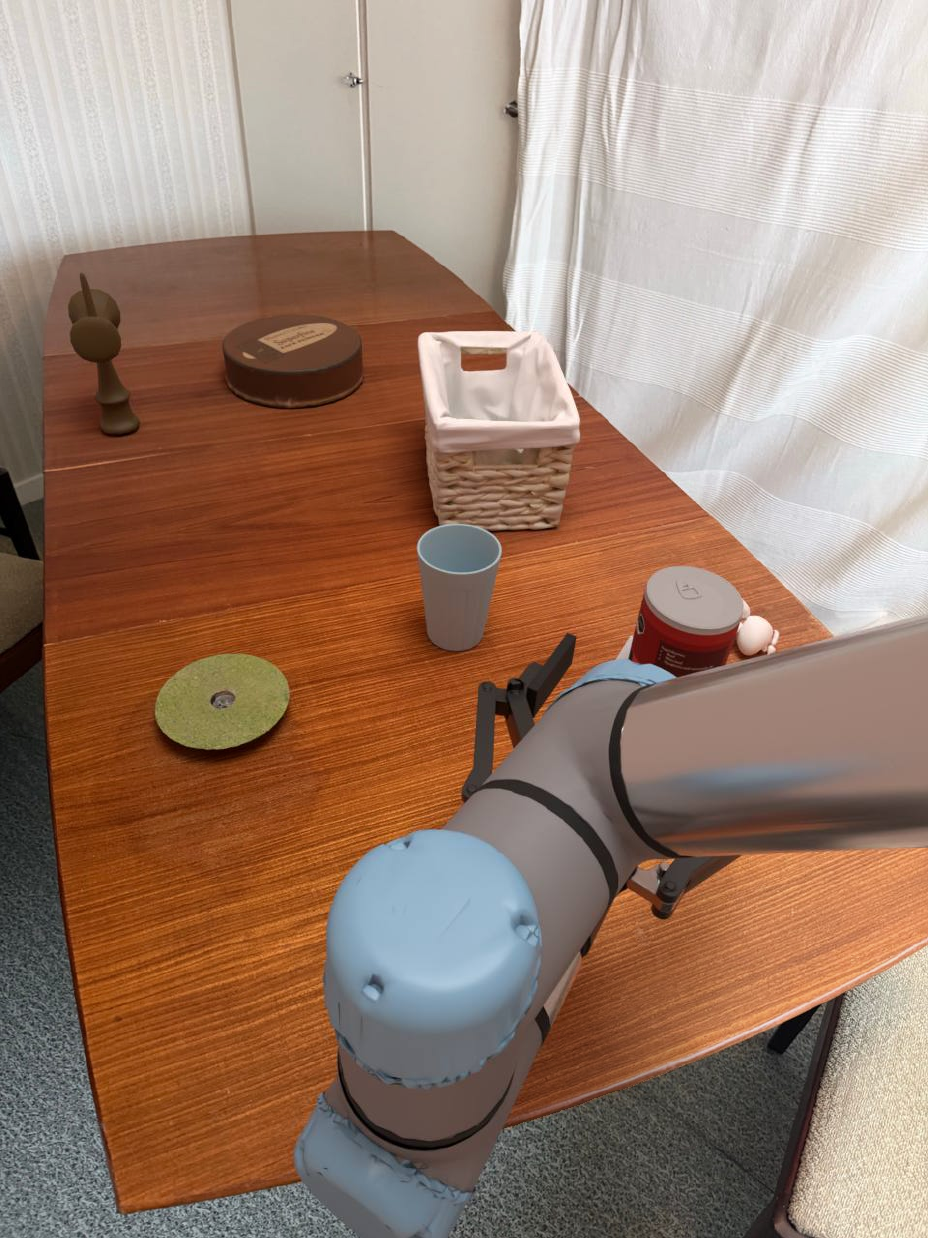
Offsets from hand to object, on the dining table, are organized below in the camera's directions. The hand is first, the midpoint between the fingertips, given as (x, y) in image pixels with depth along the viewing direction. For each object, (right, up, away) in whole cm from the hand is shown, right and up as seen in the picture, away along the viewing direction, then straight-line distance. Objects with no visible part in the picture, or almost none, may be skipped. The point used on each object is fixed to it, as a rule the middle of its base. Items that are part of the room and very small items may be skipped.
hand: (657, 682), depth 59 cm
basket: (-11, +21, +44) cm, 50 cm away
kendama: (-59, +29, +51) cm, 83 cm away
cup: (-15, +3, +23) cm, 28 cm away
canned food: (+4, -2, +14) cm, 15 cm away
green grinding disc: (-35, -4, +14) cm, 37 cm away
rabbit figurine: (+13, +2, +24) cm, 27 cm away
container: (-39, +40, +64) cm, 85 cm away
